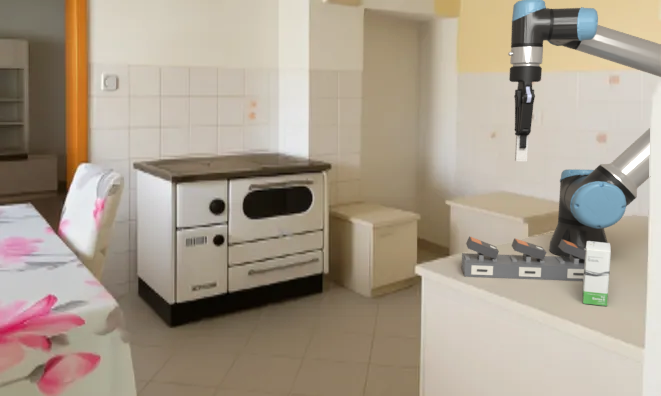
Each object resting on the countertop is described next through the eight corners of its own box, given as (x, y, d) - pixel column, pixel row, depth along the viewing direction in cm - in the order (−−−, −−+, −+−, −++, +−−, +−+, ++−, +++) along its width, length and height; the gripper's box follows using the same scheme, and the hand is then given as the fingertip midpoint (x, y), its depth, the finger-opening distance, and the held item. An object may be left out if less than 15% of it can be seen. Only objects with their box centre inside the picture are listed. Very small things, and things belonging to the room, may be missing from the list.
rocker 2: (539, 254, 154) (542, 246, 153) (543, 259, 149) (546, 251, 148) (511, 245, 154) (514, 237, 154) (514, 250, 149) (517, 242, 149)
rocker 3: (585, 257, 152) (589, 249, 152) (591, 262, 148) (595, 254, 147) (558, 246, 153) (561, 238, 152) (563, 251, 148) (566, 243, 148)
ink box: (607, 307, 129) (612, 251, 127) (581, 304, 130) (585, 248, 129) (606, 294, 136) (610, 241, 135) (582, 292, 138) (585, 239, 136)
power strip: (585, 270, 155) (586, 252, 154) (596, 281, 146) (597, 262, 145) (461, 266, 159) (462, 248, 158) (464, 276, 150) (465, 257, 149)
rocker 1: (492, 253, 155) (496, 246, 155) (495, 259, 150) (499, 251, 150) (466, 243, 156) (469, 235, 155) (467, 248, 151) (471, 240, 150)
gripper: (505, 66, 162) (501, 158, 165) (515, 64, 149) (510, 163, 153) (535, 66, 161) (530, 158, 165) (547, 64, 148) (542, 164, 152)
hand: (520, 160), depth 159 cm, fingers closed
